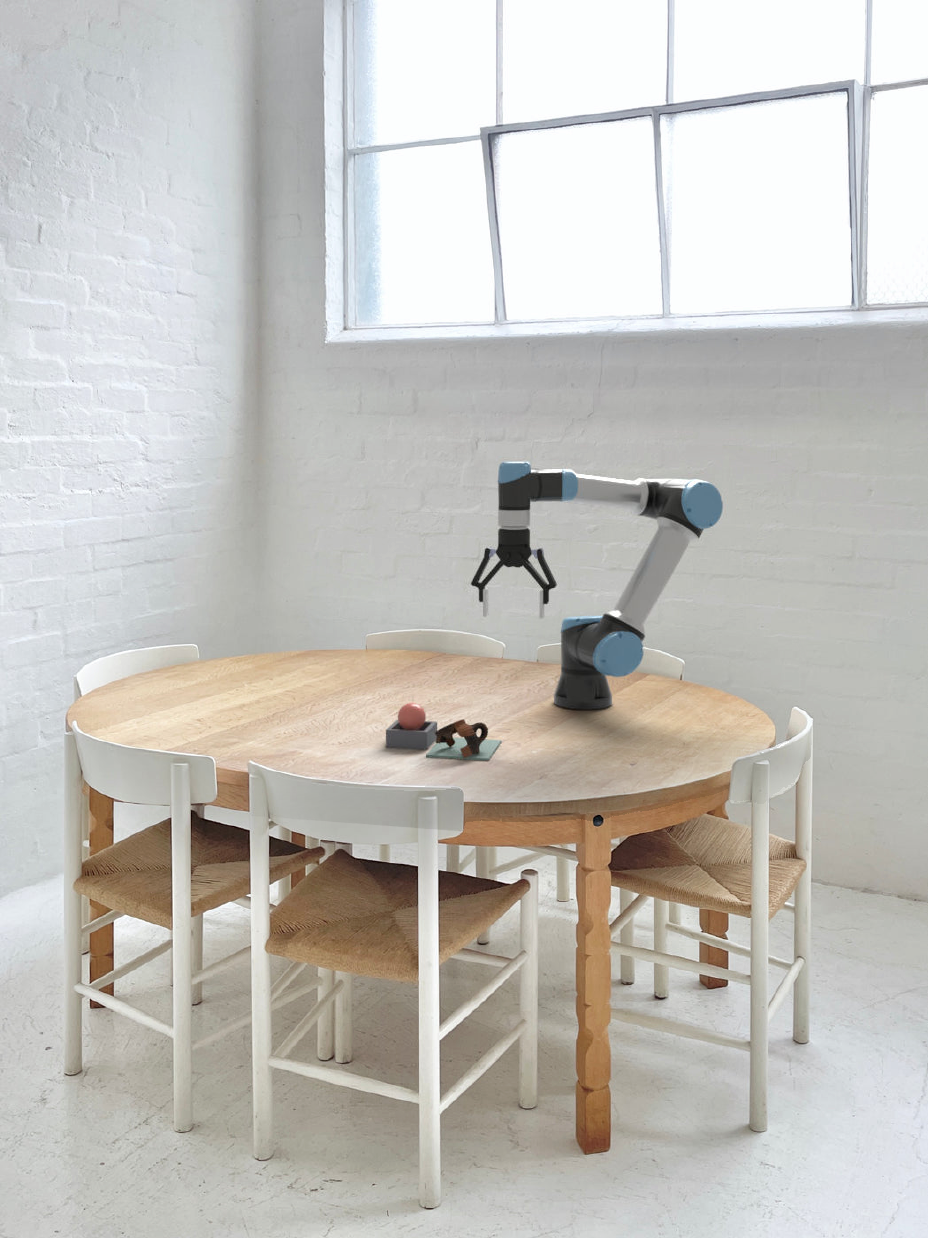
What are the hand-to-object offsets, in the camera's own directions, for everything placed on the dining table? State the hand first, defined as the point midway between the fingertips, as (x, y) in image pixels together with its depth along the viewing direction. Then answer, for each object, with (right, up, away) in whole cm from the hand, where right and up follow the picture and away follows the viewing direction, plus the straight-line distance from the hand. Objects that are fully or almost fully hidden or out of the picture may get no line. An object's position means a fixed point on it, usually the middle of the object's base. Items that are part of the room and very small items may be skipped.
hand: (513, 616), depth 274 cm
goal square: (-12, -30, -16) cm, 36 cm away
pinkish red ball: (-24, -26, -11) cm, 37 cm away
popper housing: (-24, -29, -11) cm, 39 cm away
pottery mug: (-12, -30, -20) cm, 38 cm away
